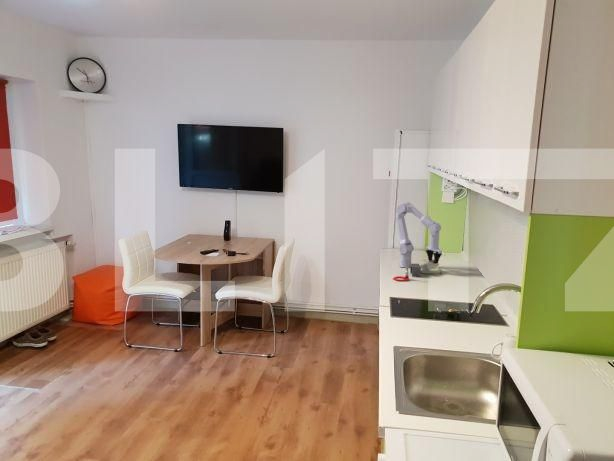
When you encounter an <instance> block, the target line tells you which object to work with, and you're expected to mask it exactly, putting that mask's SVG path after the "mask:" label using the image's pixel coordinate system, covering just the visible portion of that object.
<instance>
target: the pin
mask: <svg viewBox="0 0 614 461" xmlns="http://www.w3.org/2000/svg"><path fill="white" fill-rule="evenodd" d="M420 266H421V268H422V271H423V272H426V271H430V270H431V269H433V268H435V267H439V266H440V263H439V262H438V263H435V262H434V258H432V260H430V261H429V260H428V261H426V262H425V263H423V264H421V265H420Z"/></svg>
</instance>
